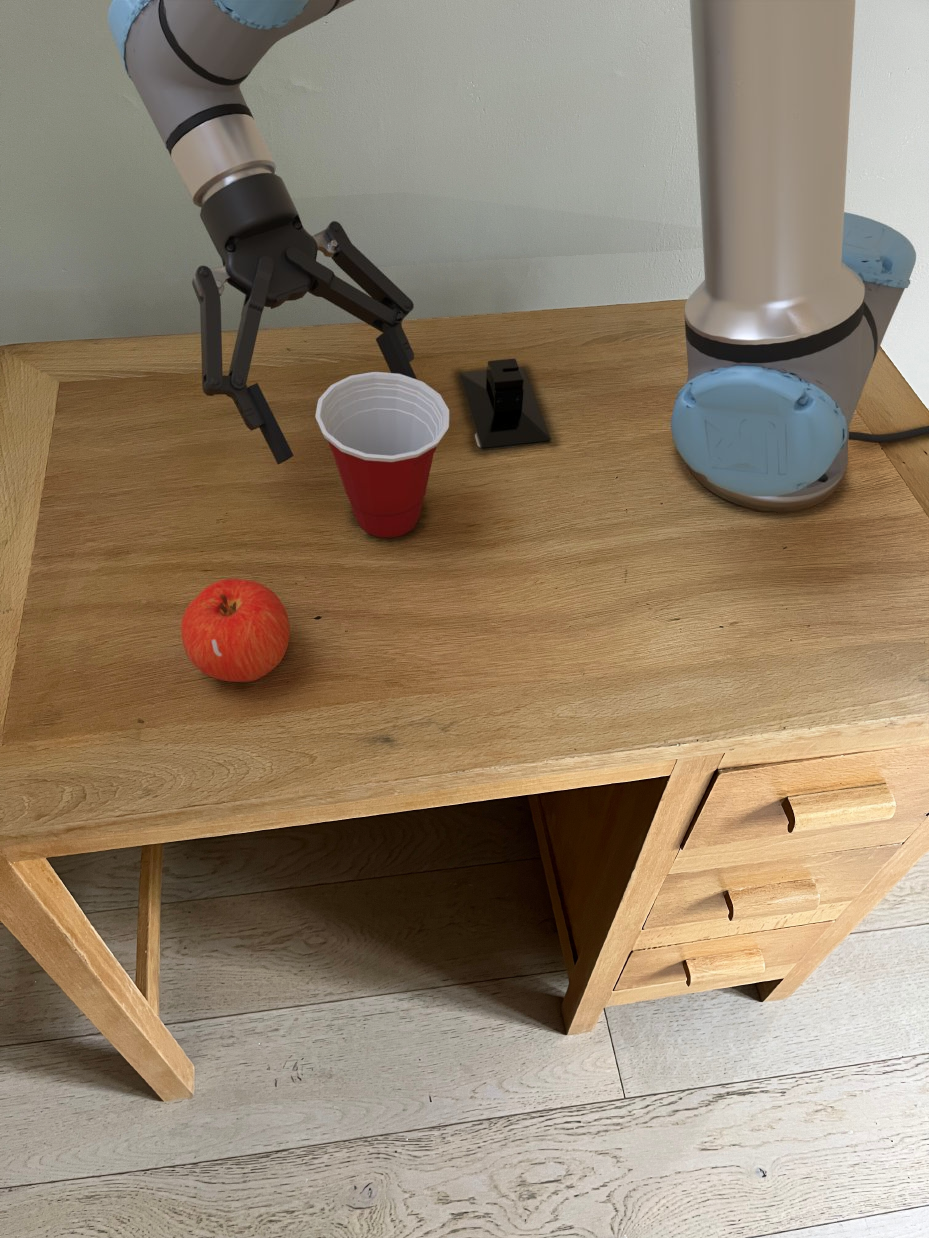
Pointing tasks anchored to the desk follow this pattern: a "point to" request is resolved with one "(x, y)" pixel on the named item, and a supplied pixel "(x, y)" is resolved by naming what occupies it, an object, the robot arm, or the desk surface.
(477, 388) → the black stand
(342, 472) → the plastic cup
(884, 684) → the desk surface
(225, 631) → the apple
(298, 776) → the desk surface
